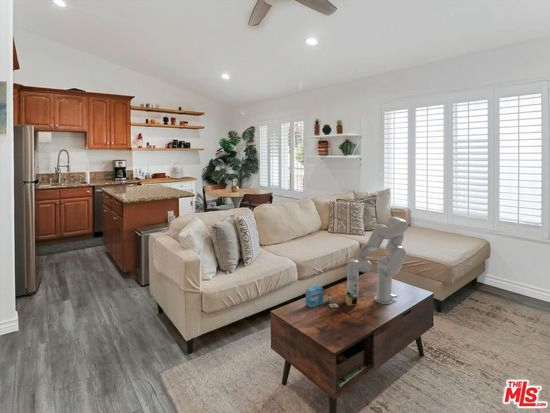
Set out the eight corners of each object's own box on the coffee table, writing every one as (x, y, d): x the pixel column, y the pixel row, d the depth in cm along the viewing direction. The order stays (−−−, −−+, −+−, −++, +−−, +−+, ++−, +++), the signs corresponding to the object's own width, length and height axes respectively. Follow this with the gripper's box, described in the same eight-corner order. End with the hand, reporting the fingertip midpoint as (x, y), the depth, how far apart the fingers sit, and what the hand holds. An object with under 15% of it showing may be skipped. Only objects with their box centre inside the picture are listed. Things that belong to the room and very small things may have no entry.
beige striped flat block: (336, 304, 231) (336, 303, 231) (338, 307, 227) (338, 306, 227) (329, 305, 230) (329, 304, 230) (331, 308, 226) (331, 306, 226)
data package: (309, 308, 226) (310, 291, 224) (305, 305, 230) (305, 289, 227) (323, 303, 232) (323, 287, 230) (318, 301, 236) (319, 285, 234)
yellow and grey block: (354, 301, 236) (355, 293, 235) (357, 304, 232) (358, 296, 231) (345, 302, 235) (345, 294, 234) (348, 305, 230) (348, 297, 229)
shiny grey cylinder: (330, 301, 236) (330, 293, 235) (331, 303, 234) (332, 294, 233) (327, 301, 236) (327, 293, 235) (328, 303, 233) (328, 295, 232)
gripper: (363, 281, 222) (362, 306, 225) (352, 272, 239) (351, 295, 242) (353, 282, 221) (351, 307, 224) (342, 273, 238) (341, 296, 241)
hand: (351, 301), depth 233 cm, fingers open, 8 cm apart
